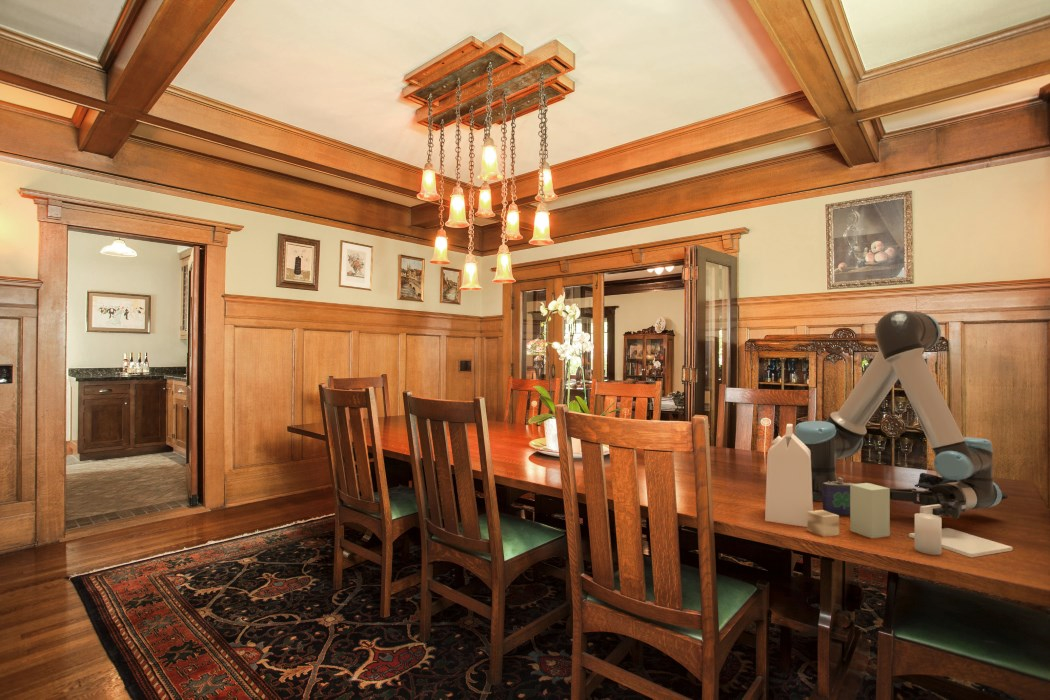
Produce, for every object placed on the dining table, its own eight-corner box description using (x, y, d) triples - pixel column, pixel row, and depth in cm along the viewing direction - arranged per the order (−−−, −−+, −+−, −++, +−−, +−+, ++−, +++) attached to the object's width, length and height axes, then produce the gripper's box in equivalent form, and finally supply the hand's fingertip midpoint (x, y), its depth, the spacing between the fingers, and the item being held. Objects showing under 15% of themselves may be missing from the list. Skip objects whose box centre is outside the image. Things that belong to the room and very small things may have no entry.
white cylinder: (909, 548, 124) (909, 514, 124) (924, 545, 126) (924, 512, 126) (931, 555, 119) (931, 520, 119) (946, 553, 121) (946, 518, 121)
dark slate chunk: (984, 503, 162) (983, 488, 162) (909, 486, 183) (909, 473, 183) (1013, 498, 168) (1013, 483, 168) (937, 482, 188) (937, 469, 188)
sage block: (850, 530, 136) (850, 484, 136) (867, 528, 138) (867, 482, 138) (871, 538, 131) (871, 490, 131) (889, 535, 132) (889, 488, 132)
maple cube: (807, 530, 136) (807, 511, 136) (822, 528, 138) (822, 509, 138) (823, 537, 132) (823, 517, 132) (839, 535, 133) (839, 515, 133)
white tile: (909, 536, 132) (909, 533, 132) (948, 530, 136) (948, 527, 136) (971, 557, 118) (971, 554, 118) (1012, 550, 123) (1012, 547, 123)
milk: (812, 527, 138) (812, 429, 139) (765, 520, 144) (765, 426, 144) (813, 515, 149) (813, 424, 149) (768, 509, 155) (768, 421, 155)
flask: (853, 513, 151) (853, 476, 151) (859, 516, 148) (859, 478, 148) (820, 513, 151) (820, 476, 151) (826, 516, 148) (825, 478, 148)
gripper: (1005, 525, 131) (946, 535, 124) (905, 499, 155) (851, 505, 148) (1005, 495, 131) (946, 503, 125) (905, 473, 155) (851, 479, 148)
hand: (894, 504), depth 136 cm, fingers open, 13 cm apart
